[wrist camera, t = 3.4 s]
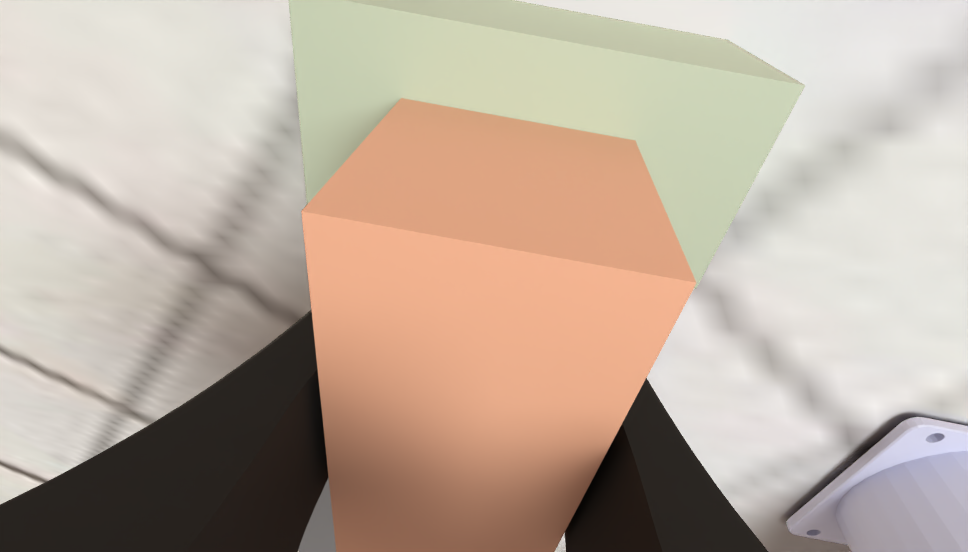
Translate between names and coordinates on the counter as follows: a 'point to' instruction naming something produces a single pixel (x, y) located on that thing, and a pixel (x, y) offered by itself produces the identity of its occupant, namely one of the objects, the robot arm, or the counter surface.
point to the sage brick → (547, 91)
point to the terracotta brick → (481, 324)
